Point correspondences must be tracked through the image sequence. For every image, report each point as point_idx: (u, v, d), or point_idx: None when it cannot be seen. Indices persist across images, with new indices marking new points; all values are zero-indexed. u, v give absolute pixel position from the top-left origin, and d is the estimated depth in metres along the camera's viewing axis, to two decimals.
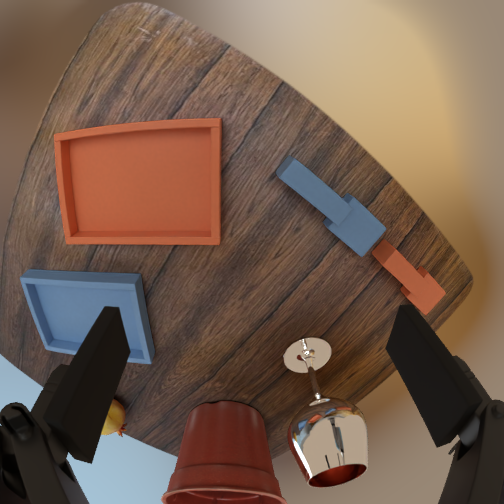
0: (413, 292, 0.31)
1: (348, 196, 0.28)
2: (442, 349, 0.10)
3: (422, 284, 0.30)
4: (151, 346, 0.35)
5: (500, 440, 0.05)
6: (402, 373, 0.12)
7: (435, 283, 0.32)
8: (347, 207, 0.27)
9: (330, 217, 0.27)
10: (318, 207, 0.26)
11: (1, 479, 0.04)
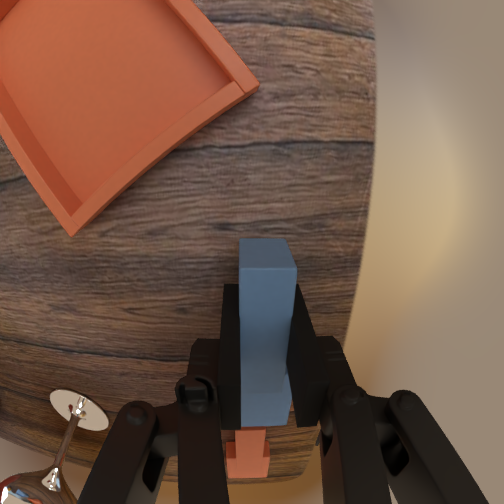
0: (238, 465, 0.21)
1: None
2: (306, 325, 0.12)
3: (254, 465, 0.21)
4: None
5: (363, 430, 0.07)
6: None
7: (266, 466, 0.24)
8: (277, 386, 0.14)
9: (242, 379, 0.14)
10: (243, 357, 0.13)
11: (141, 474, 0.06)
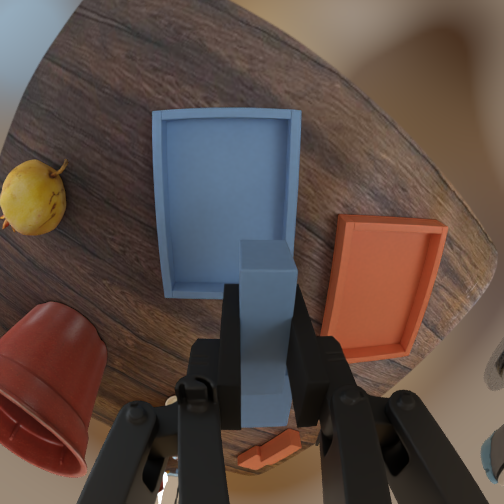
0: (265, 460, 0.39)
1: None
2: (306, 325, 0.12)
3: (271, 462, 0.40)
4: None
5: (363, 430, 0.07)
6: None
7: (265, 464, 0.42)
8: (278, 387, 0.14)
9: (243, 380, 0.14)
10: (243, 358, 0.13)
11: (141, 474, 0.06)
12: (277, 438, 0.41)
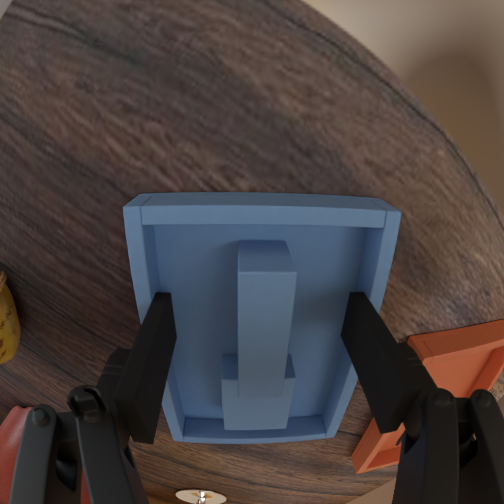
0: None
1: (288, 363, 0.16)
2: (386, 334, 0.11)
3: None
4: None
5: (448, 431, 0.06)
6: (352, 359, 0.13)
7: None
8: (277, 391, 0.14)
9: (241, 383, 0.13)
10: (241, 361, 0.13)
11: (54, 472, 0.05)
12: None
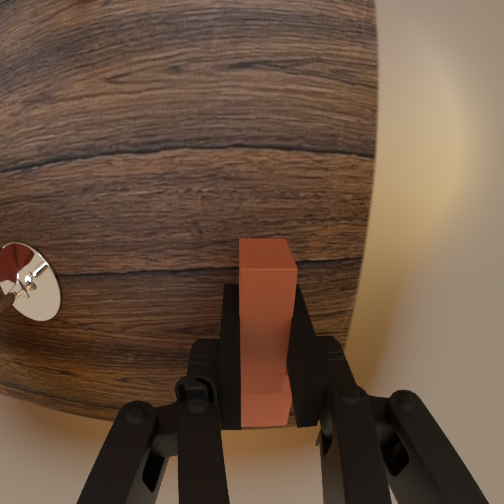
0: (243, 381, 0.14)
1: None
2: (307, 325, 0.12)
3: (271, 384, 0.14)
4: None
5: (363, 430, 0.07)
6: None
7: (288, 399, 0.16)
8: None
9: None
10: None
11: (141, 474, 0.06)
12: None
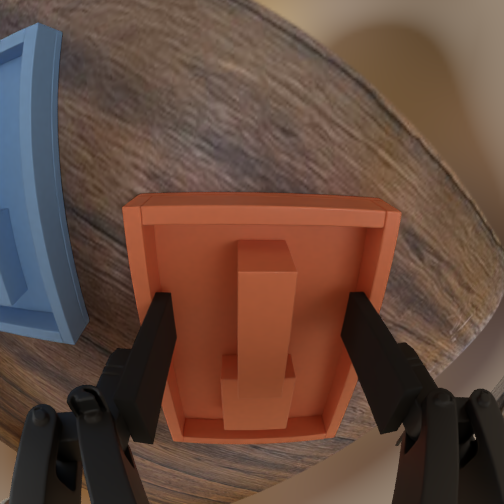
0: (241, 385, 0.13)
1: None
2: (386, 334, 0.11)
3: (270, 388, 0.14)
4: None
5: (448, 431, 0.06)
6: (352, 359, 0.13)
7: (287, 403, 0.16)
8: None
9: None
10: None
11: (54, 472, 0.05)
12: None
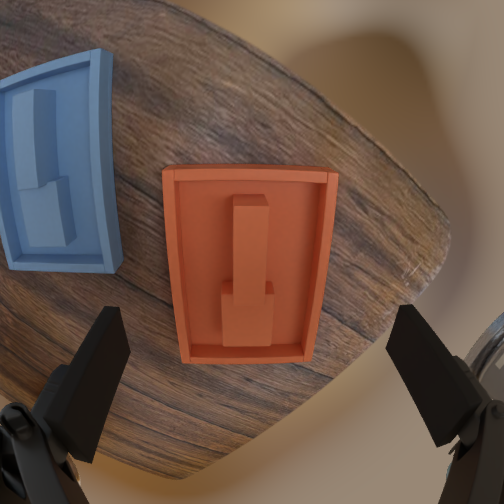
0: (235, 293, 0.21)
1: (60, 177, 0.19)
2: (442, 349, 0.10)
3: (256, 295, 0.21)
4: None
5: (500, 440, 0.05)
6: (402, 373, 0.12)
7: (270, 318, 0.23)
8: (34, 180, 0.17)
9: (16, 174, 0.16)
10: (15, 154, 0.16)
11: (1, 479, 0.04)
12: None
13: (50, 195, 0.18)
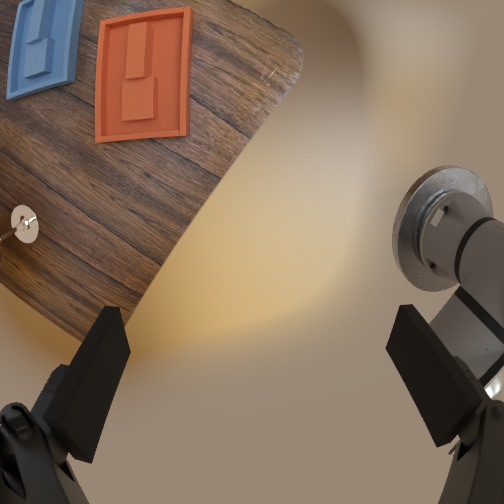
0: (127, 70, 0.27)
1: (50, 38, 0.25)
2: (442, 348, 0.10)
3: (138, 70, 0.27)
4: (20, 96, 0.29)
5: (500, 440, 0.05)
6: (402, 373, 0.12)
7: (151, 93, 0.30)
8: (37, 35, 0.23)
9: (28, 35, 0.23)
10: (29, 26, 0.22)
11: (1, 479, 0.04)
12: None
13: (43, 45, 0.25)
